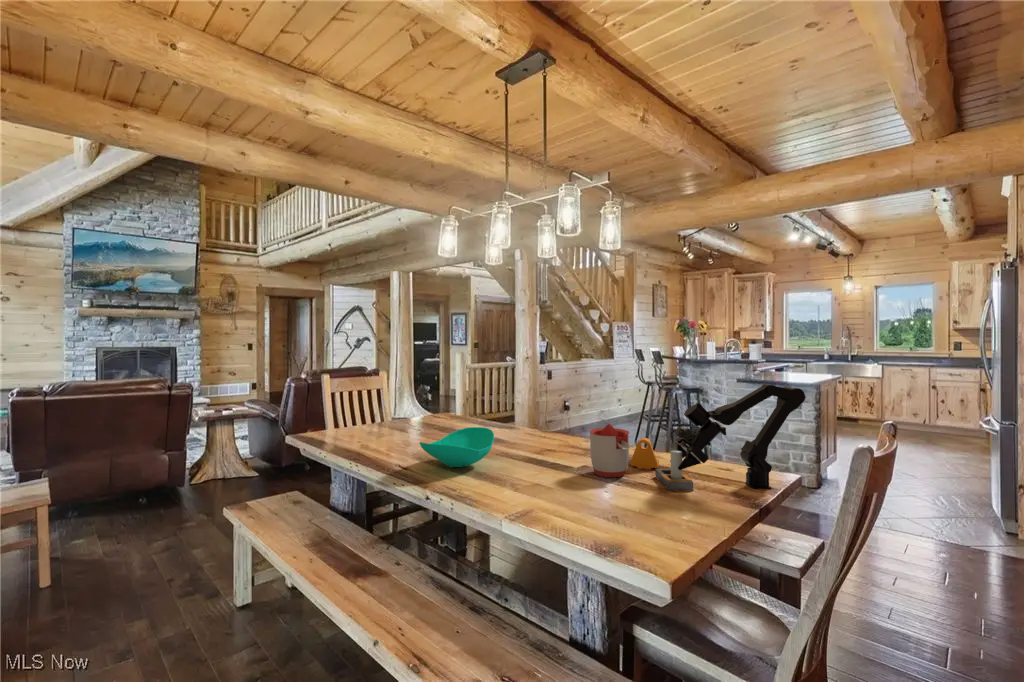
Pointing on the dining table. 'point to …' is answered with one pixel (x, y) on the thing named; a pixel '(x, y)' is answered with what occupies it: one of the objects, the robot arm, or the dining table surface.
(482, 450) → the table top decor
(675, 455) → the peg
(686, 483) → the grey boxy holed piece
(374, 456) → the dining table surface
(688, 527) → the dining table surface
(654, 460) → the bracket
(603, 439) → the citrus juicer
